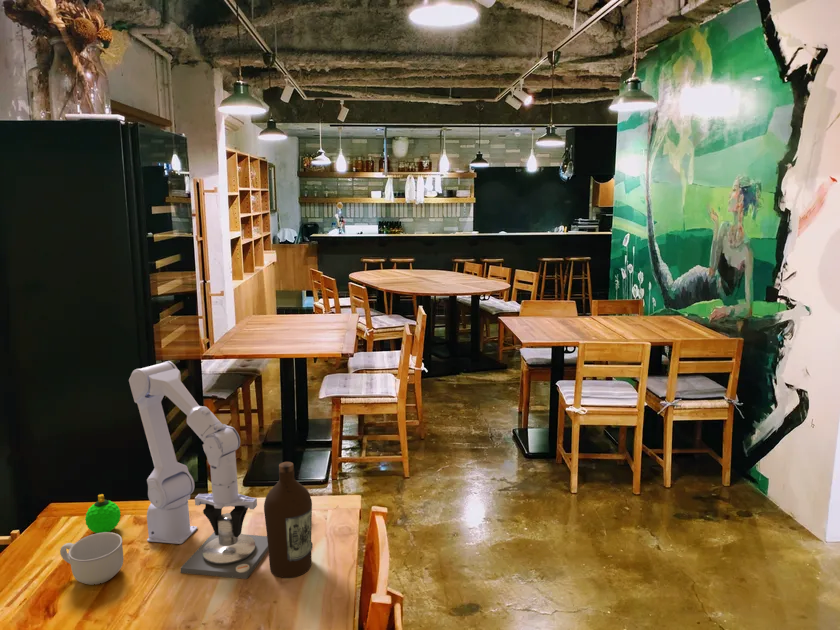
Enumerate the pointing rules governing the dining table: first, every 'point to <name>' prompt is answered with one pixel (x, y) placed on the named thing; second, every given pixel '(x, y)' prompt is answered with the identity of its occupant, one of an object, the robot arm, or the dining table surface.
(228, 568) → the scale base
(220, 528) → the cylinder
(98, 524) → the ornament
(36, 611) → the dining table surface
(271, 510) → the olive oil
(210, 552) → the scale pan
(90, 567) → the teacup
